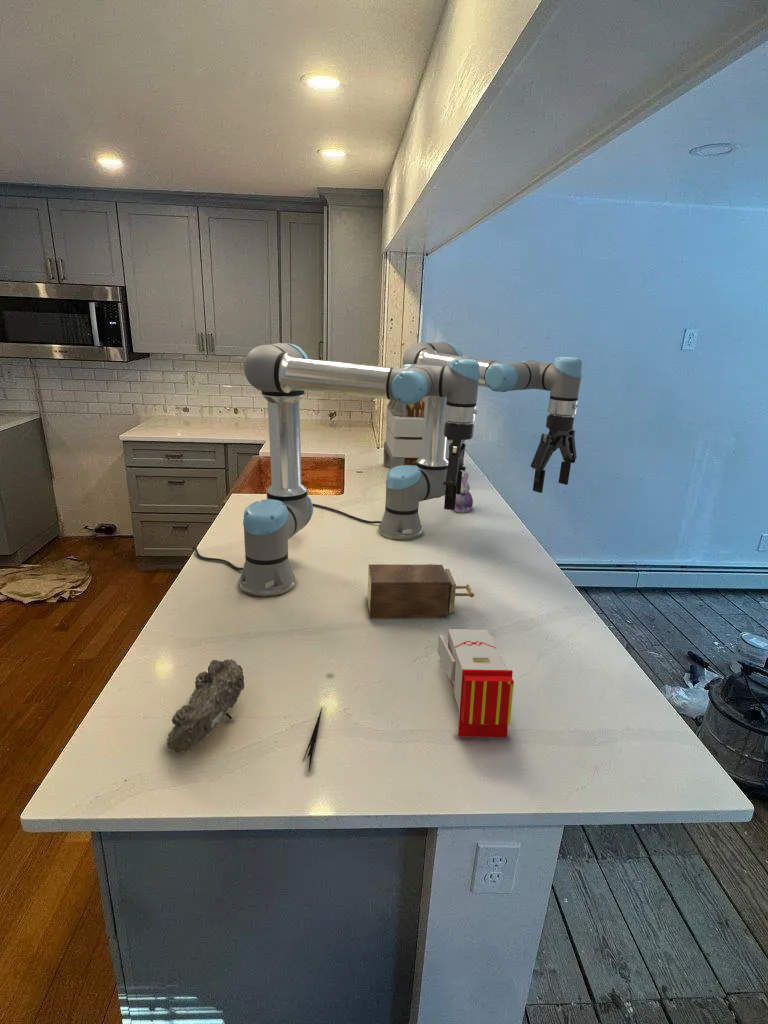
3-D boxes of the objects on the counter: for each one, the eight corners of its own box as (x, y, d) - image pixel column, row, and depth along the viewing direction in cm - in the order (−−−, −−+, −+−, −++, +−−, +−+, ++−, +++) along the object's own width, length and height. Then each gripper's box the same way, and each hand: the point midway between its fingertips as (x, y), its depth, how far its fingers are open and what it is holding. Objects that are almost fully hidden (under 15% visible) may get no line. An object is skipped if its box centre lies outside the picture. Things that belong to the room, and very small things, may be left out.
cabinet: (439, 598, 157) (442, 564, 153) (446, 617, 147) (450, 582, 143) (367, 598, 155) (368, 564, 151) (369, 618, 145) (371, 582, 141)
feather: (331, 679, 122) (336, 673, 122) (307, 777, 96) (313, 769, 95) (324, 675, 122) (329, 669, 121) (298, 772, 95) (304, 764, 95)
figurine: (459, 514, 221) (463, 477, 216) (445, 506, 229) (448, 470, 224) (479, 511, 225) (483, 475, 220) (464, 503, 234) (467, 468, 228)
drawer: (466, 596, 157) (469, 568, 154) (474, 613, 148) (477, 584, 145) (378, 596, 154) (379, 568, 151) (381, 613, 145) (382, 584, 143)
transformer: (382, 463, 289) (386, 382, 275) (445, 464, 293) (451, 384, 279) (390, 482, 257) (394, 392, 243) (460, 483, 261) (468, 394, 247)
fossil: (192, 660, 117) (244, 628, 112) (224, 691, 120) (276, 661, 115) (142, 746, 98) (202, 712, 93) (182, 779, 101) (242, 748, 96)
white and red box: (488, 613, 130) (523, 677, 101) (484, 667, 133) (517, 744, 104) (435, 612, 130) (455, 676, 101) (432, 666, 133) (451, 743, 103)
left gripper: (469, 432, 132) (461, 518, 139) (478, 415, 155) (470, 489, 162) (437, 429, 133) (431, 514, 140) (450, 412, 156) (444, 486, 163)
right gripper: (548, 421, 147) (537, 498, 155) (596, 413, 163) (584, 483, 171) (524, 416, 152) (514, 491, 160) (572, 409, 169) (562, 477, 176)
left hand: (452, 501), depth 151 cm, fingers open, 13 cm apart
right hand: (550, 487), depth 165 cm, fingers open, 13 cm apart
